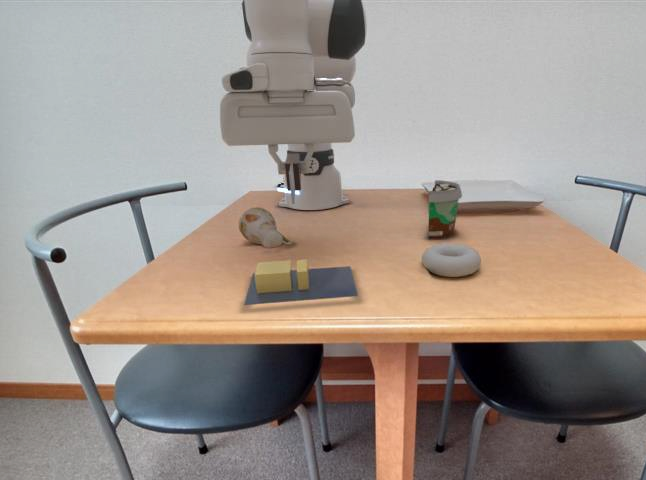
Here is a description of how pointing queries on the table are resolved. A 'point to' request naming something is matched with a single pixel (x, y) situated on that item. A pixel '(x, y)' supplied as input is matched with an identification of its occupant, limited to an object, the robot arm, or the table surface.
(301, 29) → the robot arm
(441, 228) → the food container
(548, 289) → the table surface
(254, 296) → the butter dish
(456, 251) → the donut
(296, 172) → the knife
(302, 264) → the butter slice
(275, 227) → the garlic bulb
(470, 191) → the square plate
